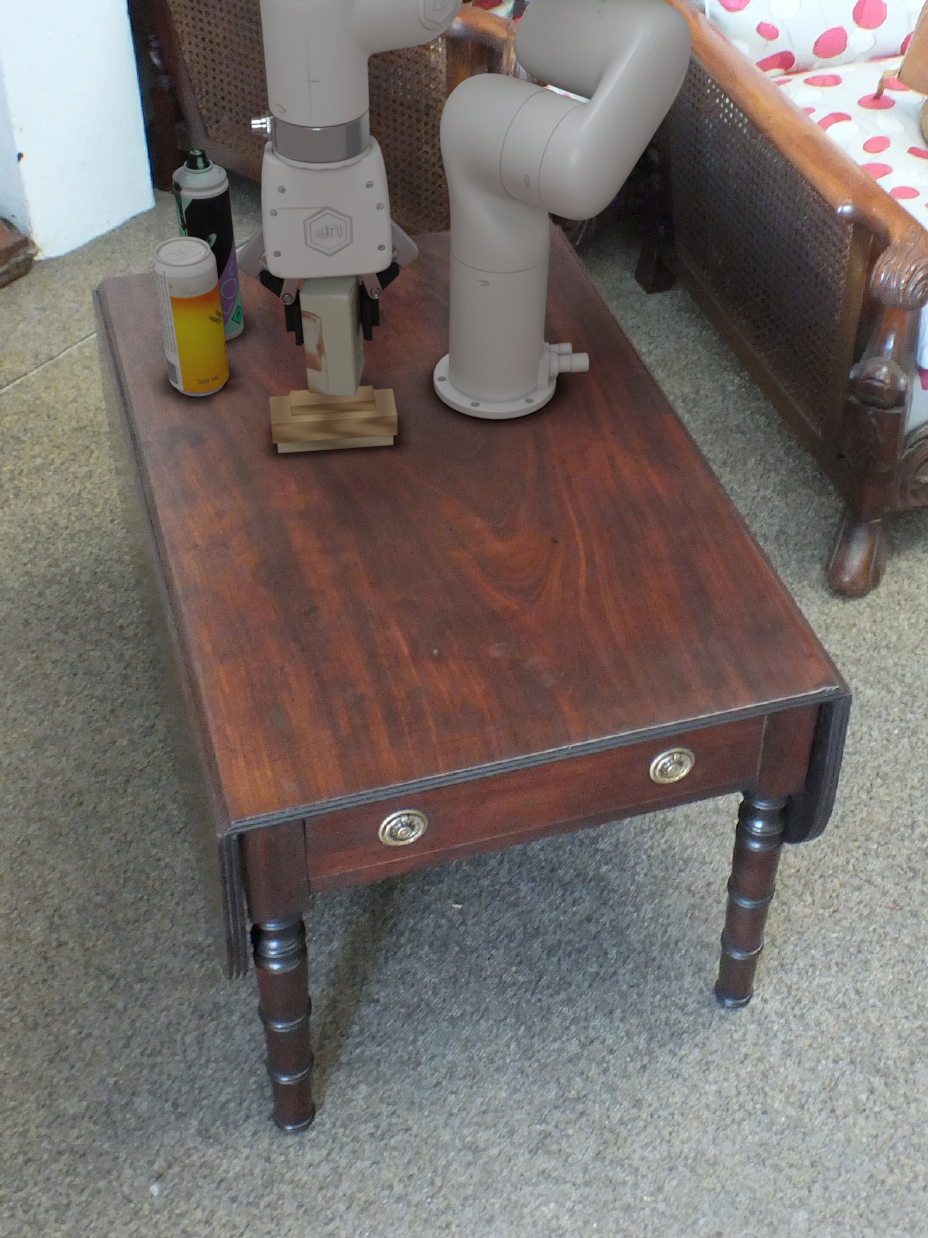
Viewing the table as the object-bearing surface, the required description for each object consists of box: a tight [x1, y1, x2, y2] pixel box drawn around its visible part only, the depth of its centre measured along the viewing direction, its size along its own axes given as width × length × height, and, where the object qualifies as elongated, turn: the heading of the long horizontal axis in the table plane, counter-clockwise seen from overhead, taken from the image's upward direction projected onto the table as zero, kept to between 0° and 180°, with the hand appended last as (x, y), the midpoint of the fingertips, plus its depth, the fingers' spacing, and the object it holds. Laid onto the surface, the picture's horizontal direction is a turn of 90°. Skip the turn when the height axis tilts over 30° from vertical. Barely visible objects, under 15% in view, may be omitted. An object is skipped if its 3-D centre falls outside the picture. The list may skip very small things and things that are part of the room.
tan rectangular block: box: [268, 385, 399, 454], centre depth 134 cm, size 12×4×5 cm, turn 98°
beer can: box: [150, 236, 230, 397], centre depth 137 cm, size 6×6×15 cm
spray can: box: [172, 149, 245, 342], centre depth 142 cm, size 6×6×20 cm
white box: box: [299, 275, 365, 396], centre depth 118 cm, size 5×4×10 cm
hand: (333, 332), depth 118 cm, fingers closed on white box, 5 cm apart
